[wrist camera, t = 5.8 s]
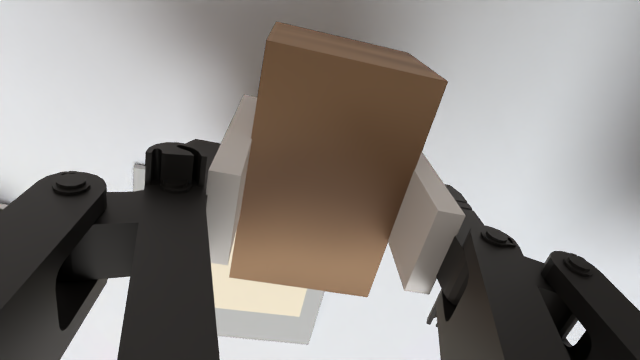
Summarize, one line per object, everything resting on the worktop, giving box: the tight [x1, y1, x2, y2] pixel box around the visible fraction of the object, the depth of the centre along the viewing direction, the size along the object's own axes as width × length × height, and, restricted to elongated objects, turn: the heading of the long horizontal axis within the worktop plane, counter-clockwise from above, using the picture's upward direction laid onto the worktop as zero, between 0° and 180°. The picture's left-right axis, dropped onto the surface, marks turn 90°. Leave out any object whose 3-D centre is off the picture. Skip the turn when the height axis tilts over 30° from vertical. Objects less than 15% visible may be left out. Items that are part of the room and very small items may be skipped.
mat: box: [133, 164, 325, 345], centre depth 25 cm, size 12×12×1 cm
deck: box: [229, 22, 448, 297], centre depth 14 cm, size 8×5×4 cm, turn 167°
